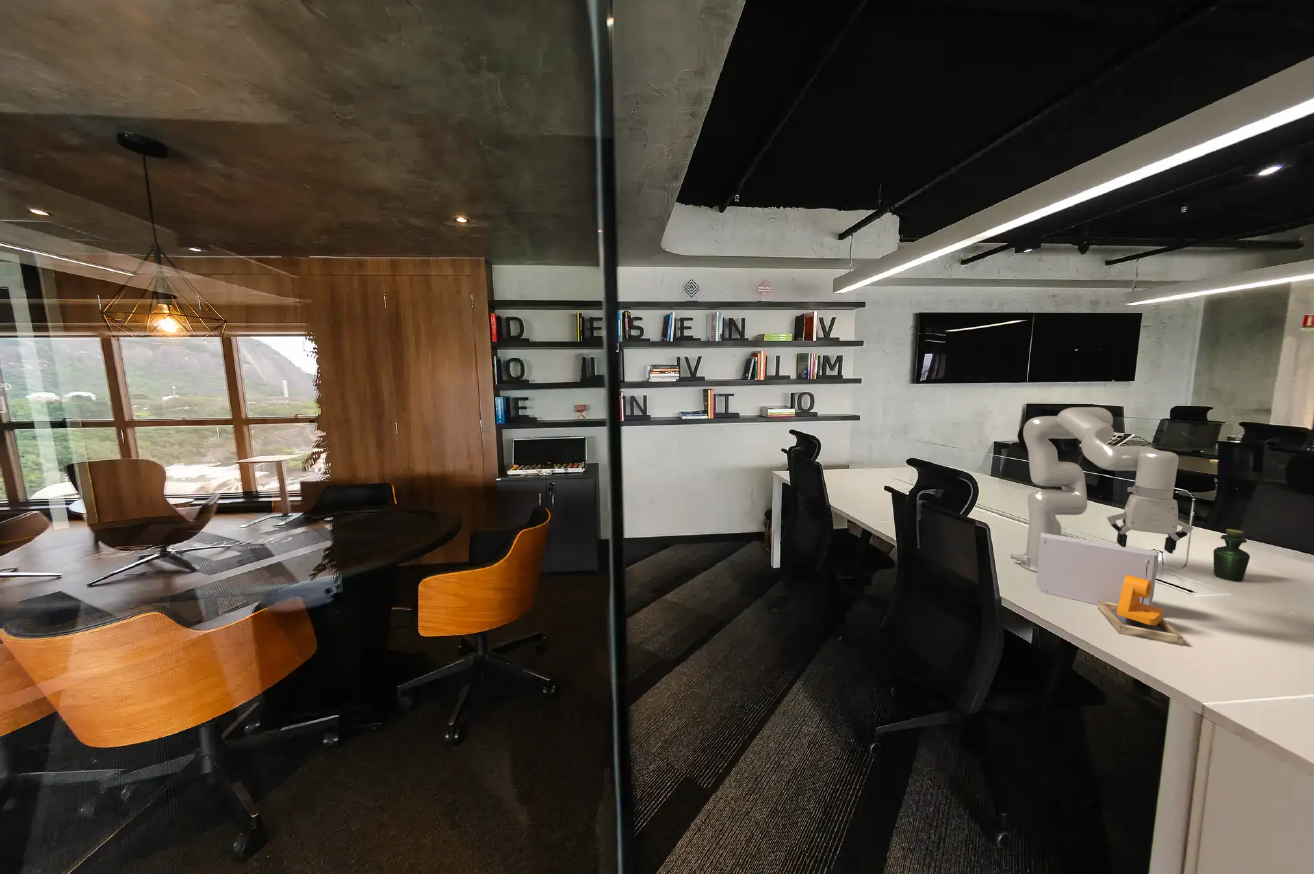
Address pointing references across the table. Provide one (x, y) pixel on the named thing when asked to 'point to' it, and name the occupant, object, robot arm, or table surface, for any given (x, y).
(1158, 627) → the wooden tray
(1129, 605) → the bracket
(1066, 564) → the game console
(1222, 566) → the potion bottle
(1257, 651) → the table surface
